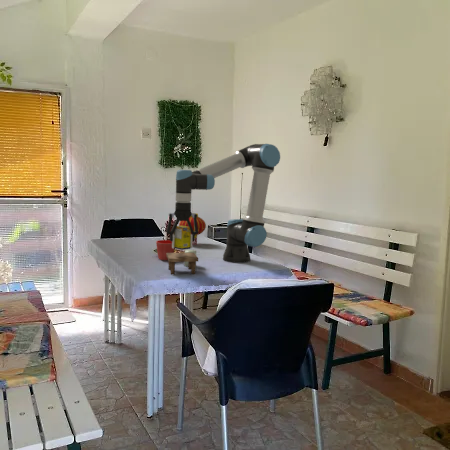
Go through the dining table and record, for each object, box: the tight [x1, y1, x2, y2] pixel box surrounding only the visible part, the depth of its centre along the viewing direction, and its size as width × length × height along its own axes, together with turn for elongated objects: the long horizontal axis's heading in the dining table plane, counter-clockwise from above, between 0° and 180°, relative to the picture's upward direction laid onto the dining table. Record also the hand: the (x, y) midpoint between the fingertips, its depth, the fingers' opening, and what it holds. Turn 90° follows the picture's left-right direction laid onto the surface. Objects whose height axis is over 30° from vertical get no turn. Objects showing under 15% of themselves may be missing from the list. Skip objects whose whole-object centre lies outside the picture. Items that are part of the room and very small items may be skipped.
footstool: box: [166, 252, 199, 275], centre depth 239 cm, size 14×14×8 cm
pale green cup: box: [183, 249, 197, 268], centre depth 251 cm, size 6×6×8 cm
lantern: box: [178, 212, 207, 246], centre depth 311 cm, size 17×17×30 cm
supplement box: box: [173, 225, 191, 251], centre depth 237 cm, size 6×6×11 cm
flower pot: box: [155, 239, 176, 261], centre depth 266 cm, size 11×11×10 cm
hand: (182, 247), depth 237 cm, fingers closed on supplement box, 8 cm apart
